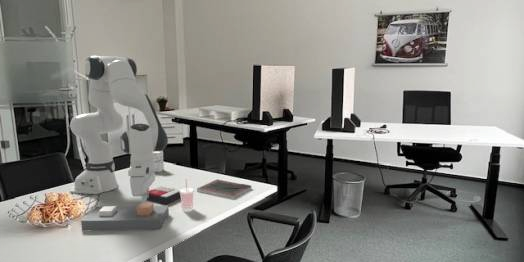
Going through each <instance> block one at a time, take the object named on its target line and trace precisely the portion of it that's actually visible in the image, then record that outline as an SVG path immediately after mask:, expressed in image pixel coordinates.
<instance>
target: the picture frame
mask: <svg viewBox="0 0 524 262" xmlns="http://www.w3.org/2000/svg"><path fill="white" fill-rule="evenodd" d="M251 190H252V185H250V184H244V183H237V182H233V181H227V180H223V179H214V180H213V181H210V182H208V183H205V184H204V185H202V186H200V187H197V188H196V192H198V193H201V194H206V195H209V196H210V195H211V196H217V197H220V198H225V199H230V200H234V199H236V198H238V197H240V196H242V195H243V194H244V193H248V191H251Z"/></svg>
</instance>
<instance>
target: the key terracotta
mask: <svg viewBox="0 0 524 262" xmlns="http://www.w3.org/2000/svg"><path fill="white" fill-rule="evenodd" d="M137 206H138V207H137V215H138V216H143V215H151V214H152V213H153V211H154V209H153V206H154V203H153V202H147V203H145V202H144V203H140V204H139V205H137Z"/></svg>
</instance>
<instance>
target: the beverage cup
mask: <svg viewBox="0 0 524 262" xmlns="http://www.w3.org/2000/svg"><path fill="white" fill-rule="evenodd" d="M178 190H179V191H180V196H181V199H180V203H181V210H182V212H185V213H189V212H192V211H193V210H194V191H195V189H194V188H193V187H188V179H187V178H185V187H183V188H180V189H178Z"/></svg>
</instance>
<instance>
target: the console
mask: <svg viewBox="0 0 524 262" xmlns="http://www.w3.org/2000/svg"><path fill="white" fill-rule="evenodd" d="M115 206H116V213H115V214H114V215H113V216H99V210H100V209H101V208H102V207H103V206H95V207H93V209H92V210H91V211H90V212H89V213H87V214H86V215H85V216H84V218H83V219H81V220H80V222H81V223H80V225H81V231H83V230H84V231H85V230H86V231H87V230H91V231H141V230H142V231H144V230H148V231H149V230H162V228H163V226H164V224H165V222H166V221H167V219H168V217H169V215H170V214H169V213H170V212H169V211H170V210H169V205H153V209H154V211H153V213H152V214H151V215H143V216H138V215H137V207H138V206H139V205H125V206H124V205H122V206H121V205H120V206H119V205H115ZM87 232H88V231H87Z"/></svg>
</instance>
